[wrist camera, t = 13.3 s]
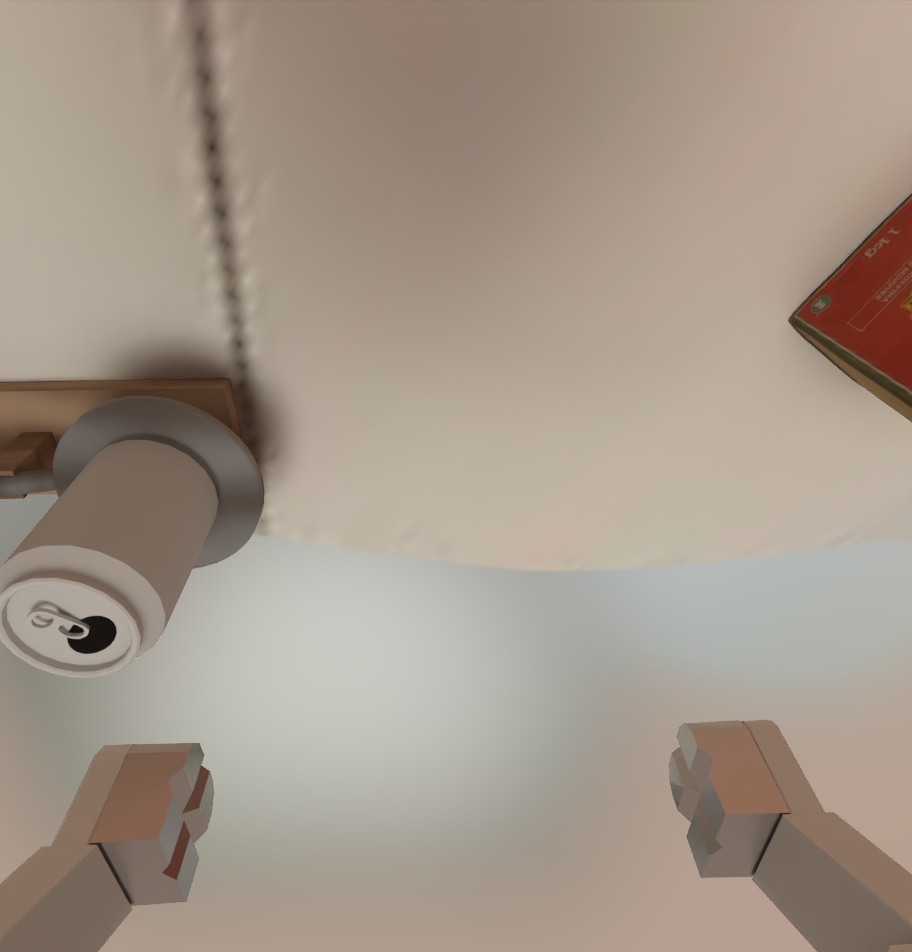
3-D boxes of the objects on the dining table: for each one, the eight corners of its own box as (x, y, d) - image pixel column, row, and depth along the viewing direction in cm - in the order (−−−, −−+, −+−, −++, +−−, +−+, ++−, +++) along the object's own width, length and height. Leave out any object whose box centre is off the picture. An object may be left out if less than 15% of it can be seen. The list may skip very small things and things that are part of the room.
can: (177, 555, 42) (98, 712, 32) (67, 487, 39) (-59, 638, 28) (247, 485, 39) (185, 632, 29) (135, 407, 36) (22, 541, 26)
